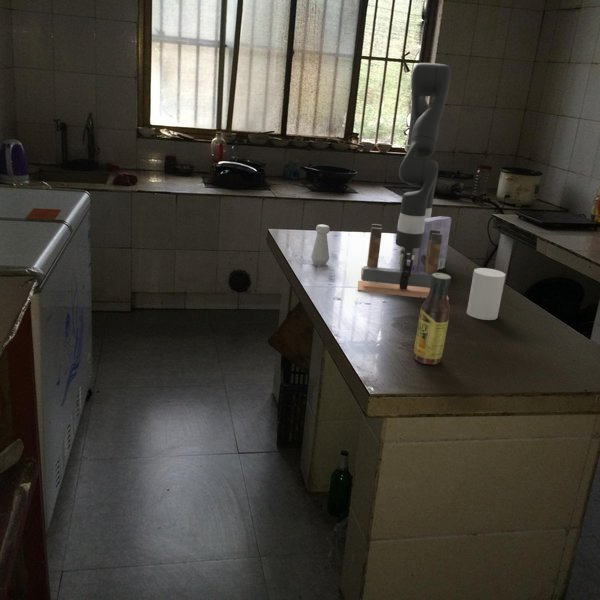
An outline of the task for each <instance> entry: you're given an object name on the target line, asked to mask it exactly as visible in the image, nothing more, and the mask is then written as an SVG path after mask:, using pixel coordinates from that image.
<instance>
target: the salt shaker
mask: <svg viewBox="0 0 600 600" xmlns="http://www.w3.org/2000/svg"><path fill="white" fill-rule="evenodd" d="M330 230H331V229H330V226H329V225H327V224H317V225H316V228H315V232H316V237H315V240H314V245H313V248H312V252H311V256H310V257H311V261H312V264H313V265H314V266H318V267H324V266H325V267H326V265H327V263H328V262H329V260H330V253H329V250H330V249H329V243H328V242H329V241H328V234H329V233H330Z"/></svg>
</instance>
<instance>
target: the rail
mask: <svg viewBox="0 0 600 600" xmlns="http://www.w3.org/2000/svg"><path fill="white" fill-rule="evenodd" d="M362 268H363V276H362V279H361V281H367V282H377V283H387V284H397V285H399V284H400V279H401V275H400V274H401V270H400V268H398V269H397V268H388V267H387V268H386V267H379V266H378V267H369V266H367V265H363V267H362ZM404 272H407V273H408V271H406V270H405V271H404ZM432 274H434V273H429V272H419V271H411V276H410V277H409V279H408V286H416V287H426V288H430V287H431V277H432Z"/></svg>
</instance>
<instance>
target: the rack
mask: <svg viewBox="0 0 600 600" xmlns="http://www.w3.org/2000/svg"><path fill="white" fill-rule="evenodd" d="M382 233H383V228H382V224H377V223H371V227H370V237H369V244H368V246H369V247H368V253H367V254H368V255H367V260H366V262H367V263H366V266H369V267H379V266H378V265H379V258H380V252H381V251H380V250H381V241H382ZM441 241H442V234H440V230H430V234H429V241H428V248H427V255H426V262H425V268H424V272H429V273H438V270H437V267H438V261H439V254H440V248H441ZM360 273H361V274H360V278H361V280H362V276H363V267H361V271H360Z"/></svg>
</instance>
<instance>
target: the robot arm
mask: <svg viewBox="0 0 600 600" xmlns="http://www.w3.org/2000/svg"><path fill="white" fill-rule="evenodd" d="M411 74H412V75H411V113H410V122H409V132H408V133H409V135H408V136H409V137H408V138H409V139H408V143H409V144H408V145H409V146H408V150H407V152H406V154H405V155H404V157H403V159H402V162H401V164H400V166H399V168H398V176H399V179H400V180H401V182H402V183H405V184H408V185H409V186H411V187H418V188H421V189H418V190H416V191H408V192H405V193H403V195H402V197H401V204H400V205H401V206H400V210H399V211H400V213H399V216H398V221H397V228H396V237H395V244H396V245H397V246H398V247H399V249H400V250H399V262H398V264H399V270H401V274H400V275H401V279H400V284H398V285H400V286H399V287H400V289H407V286H409V285H408V279H409V277H410V276H411V270H412V266H413V260H414V256H415V254H414V252H413V249H414V248H420V247H421V246H422V240H423V233H424V226H425V218H431V217H432V211H433V210H432V209H433V204H434V198H435V197H434V195H435V191H436V185H437V180H438V175H439V163H438V162H437V161H435V160H433V159H427V158H429V157H431V156H433V154H434V153H435V148H436V143H437V142H438V138H439V131H440V122H441V118H442V115H443V111H444V109H445V106H446V102H447V98H448V94H449V89H450V86H451V85H450V84H451V75H452V71H451V67H450V66H449V65H447V64H443V63H435V62H432V63H431V62H418V63H416V64H415V66H414V68H413V70H412V73H411ZM425 97H433V98H434V97H435V98H434V100H433V101H432V103H431V104H430V105H429V103H428V102H427V100H426V98H425ZM405 270H406V271H408V273H407V272H404V271H405Z"/></svg>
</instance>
